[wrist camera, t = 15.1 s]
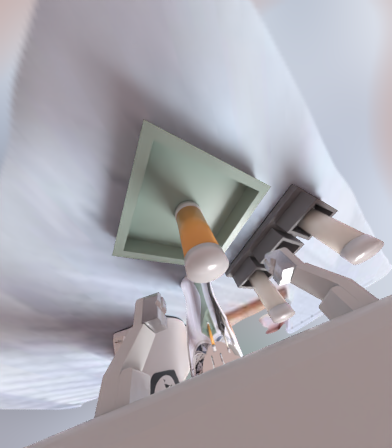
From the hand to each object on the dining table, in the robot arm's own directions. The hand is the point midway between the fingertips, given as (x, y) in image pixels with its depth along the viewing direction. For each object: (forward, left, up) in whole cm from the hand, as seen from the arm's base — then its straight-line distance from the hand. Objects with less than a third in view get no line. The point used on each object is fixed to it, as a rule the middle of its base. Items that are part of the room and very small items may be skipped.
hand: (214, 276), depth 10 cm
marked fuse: (0, 0, -10) cm, 10 cm away
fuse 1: (-7, -17, -9) cm, 20 cm away
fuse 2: (+6, -17, -9) cm, 20 cm away
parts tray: (0, 0, -10) cm, 10 cm away
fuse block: (-1, -17, -10) cm, 20 cm away
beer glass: (-14, -8, -11) cm, 19 cm away
